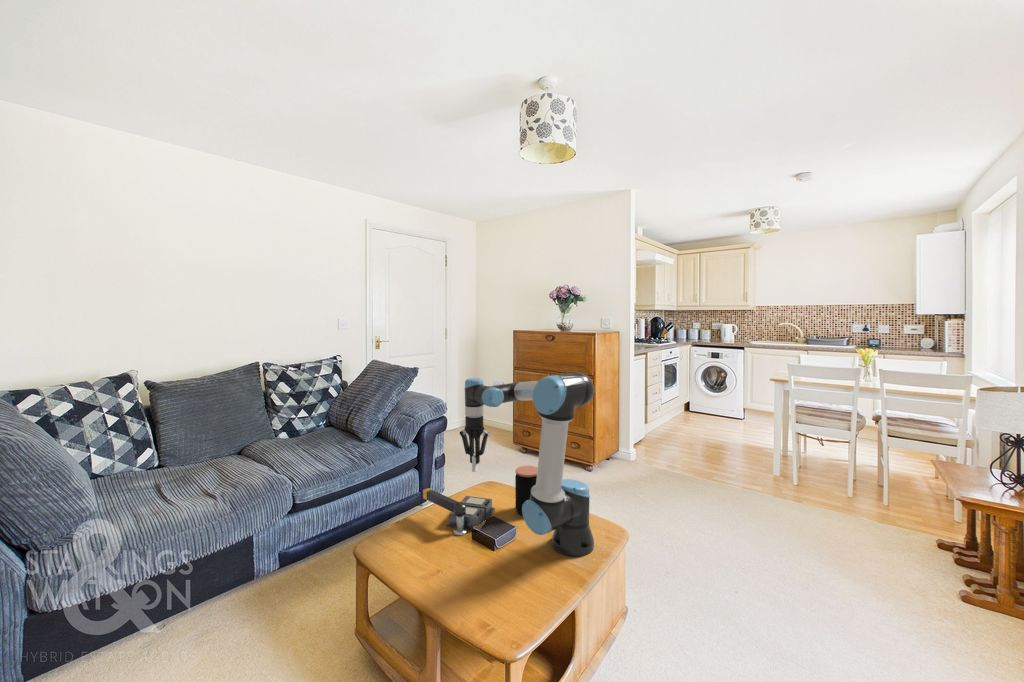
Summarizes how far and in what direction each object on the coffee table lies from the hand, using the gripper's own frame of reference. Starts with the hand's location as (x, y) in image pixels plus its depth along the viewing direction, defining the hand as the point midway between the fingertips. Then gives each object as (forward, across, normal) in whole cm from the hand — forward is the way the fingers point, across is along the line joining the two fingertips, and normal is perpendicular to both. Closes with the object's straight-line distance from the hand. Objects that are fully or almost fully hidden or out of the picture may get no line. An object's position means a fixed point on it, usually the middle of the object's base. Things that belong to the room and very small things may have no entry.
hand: (475, 470), depth 172 cm
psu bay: (+18, 0, +4) cm, 19 cm away
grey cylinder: (+18, 0, +16) cm, 24 cm away
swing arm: (+11, +9, +12) cm, 18 cm away
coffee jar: (+19, -21, -8) cm, 29 cm away
